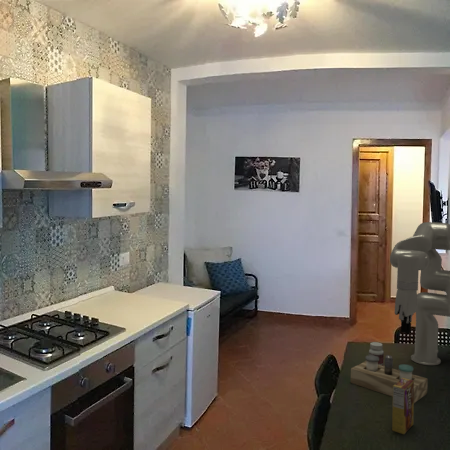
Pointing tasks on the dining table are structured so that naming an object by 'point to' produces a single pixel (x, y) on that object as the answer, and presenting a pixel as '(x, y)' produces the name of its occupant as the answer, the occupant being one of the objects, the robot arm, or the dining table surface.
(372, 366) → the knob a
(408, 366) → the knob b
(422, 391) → the wooden holder block
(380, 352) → the pill bottle
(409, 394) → the candy box
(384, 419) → the dining table surface
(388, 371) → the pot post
